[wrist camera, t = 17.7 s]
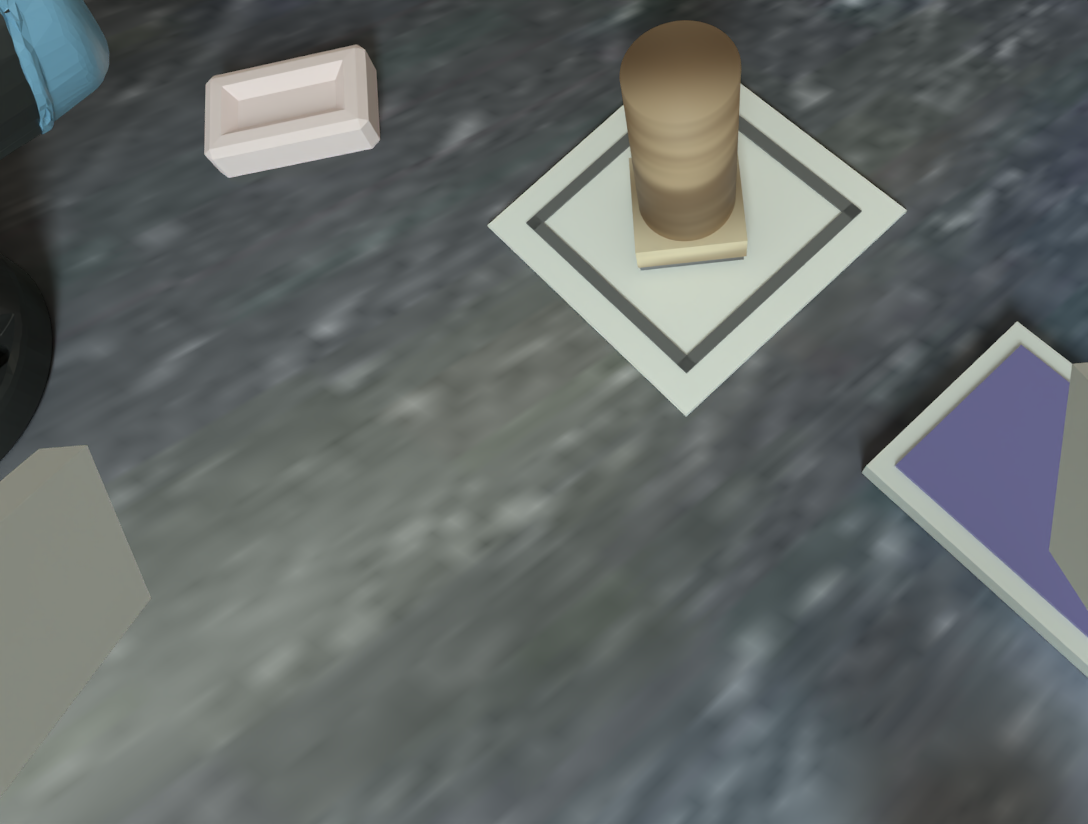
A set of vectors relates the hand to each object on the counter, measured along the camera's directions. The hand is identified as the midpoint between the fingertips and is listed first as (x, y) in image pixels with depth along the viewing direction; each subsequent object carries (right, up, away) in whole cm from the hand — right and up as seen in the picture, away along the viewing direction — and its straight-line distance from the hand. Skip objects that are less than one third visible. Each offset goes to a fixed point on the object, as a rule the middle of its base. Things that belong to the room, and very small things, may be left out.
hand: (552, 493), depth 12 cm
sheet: (+7, +10, +32) cm, 34 cm away
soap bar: (-13, +17, +38) cm, 44 cm away
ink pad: (+21, -3, +25) cm, 32 cm away
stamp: (+7, +10, +31) cm, 34 cm away
